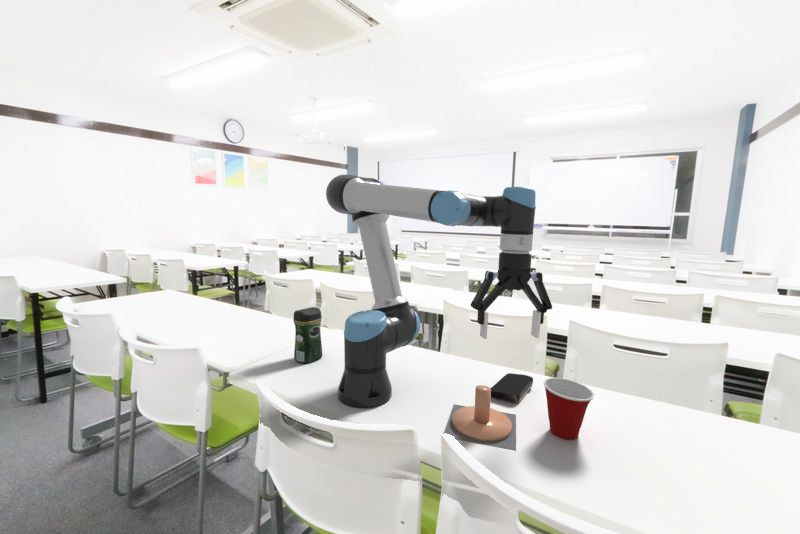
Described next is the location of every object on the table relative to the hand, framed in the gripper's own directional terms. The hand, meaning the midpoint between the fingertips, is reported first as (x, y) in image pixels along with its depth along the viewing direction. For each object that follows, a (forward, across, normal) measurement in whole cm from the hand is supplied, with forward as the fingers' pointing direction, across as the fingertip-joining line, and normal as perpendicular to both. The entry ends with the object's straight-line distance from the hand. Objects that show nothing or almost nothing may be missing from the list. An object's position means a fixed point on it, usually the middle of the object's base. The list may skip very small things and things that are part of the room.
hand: (509, 336), depth 92 cm
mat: (+21, -8, -4) cm, 23 cm away
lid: (+20, -8, -4) cm, 22 cm away
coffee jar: (+22, -54, +45) cm, 74 cm away
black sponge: (+22, +8, +13) cm, 26 cm away
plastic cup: (+21, +11, -10) cm, 26 cm away
